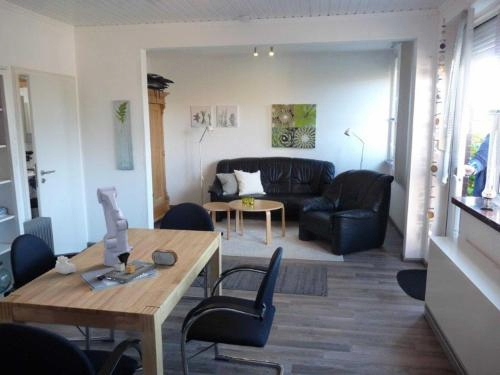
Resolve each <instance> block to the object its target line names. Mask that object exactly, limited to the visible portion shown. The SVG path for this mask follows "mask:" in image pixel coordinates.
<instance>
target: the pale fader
mask: <svg viewBox="0 0 500 375" xmlns="http://www.w3.org/2000/svg"><path fill="white" fill-rule="evenodd" d="M115 269H116V270H117V271H123V270H125V264H124V263H121V262H119V263H117V264H116V267H115Z"/></svg>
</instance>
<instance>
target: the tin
mask: <svg viewBox="0 0 500 375" xmlns="http://www.w3.org/2000/svg"><path fill="white" fill-rule="evenodd" d="M151 259H152V261H153V263H154V264H156V265H162V266H163V265H164V266H173V265H175V264H176V263H177V262H178V259H179V258H178V254H177V253H176V252H175V251H174V250H171V249H161V248H160V249H158V248H157V249H155V250H154V251H153V252H152V253H151Z"/></svg>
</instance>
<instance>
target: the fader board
mask: <svg viewBox="0 0 500 375" xmlns="http://www.w3.org/2000/svg"><path fill="white" fill-rule="evenodd" d="M129 264H131V265H134V266H135V272H133V273H126V267H125V270H123V271H117V270H116V268H115V269H114V270H111V271H110V272H107V273H105V274H104V275H103V277H104V276H105V277H108V278H111V279H115V280H119V281H118V282H120V281H123V282H122V283H125V282H126V284H127V283H129V281H130V282H131V281H133V280H135V279H137V278H139V277H140V275H141V276H142V275H144V274H146V273H148V272H150V271H152V270H154V269H155V268H156V267H157V266H156V265H157V264H156V263H155V262H148V261H147V262H146V261H140V260H135V259H133V260H132V261H130V262H127V265H129ZM143 273H144V274H143ZM138 276H139V277H138ZM136 277H137V278H136ZM134 278H135V279H134ZM115 280H114V281H115Z"/></svg>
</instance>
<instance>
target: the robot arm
mask: <svg viewBox="0 0 500 375" xmlns="http://www.w3.org/2000/svg"><path fill="white" fill-rule="evenodd" d="M96 197H97V201H98V204H101V205H102V210H103V215H104V221H105V226H106V231H107V232H106V234H104V236H103V238H102V239H103V247H104V251H103V264H102V265H103V266H109V267H115V268H116V264H117V263H119V262H121V263H124V264H125V267H126V266H127V264H128V260H129V257H130V255H131V253H130V251H133V250H134V249H135V248H134V245H129V240H128V230H129V223H128V222H129V221H128V219H127V218H126V217H124V214H123V212H122V209H121V208H120V207H118V203H117V197H118V189H117V187H116V186H113V185H112V186H108V187H98V188H97V190H96Z"/></svg>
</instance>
